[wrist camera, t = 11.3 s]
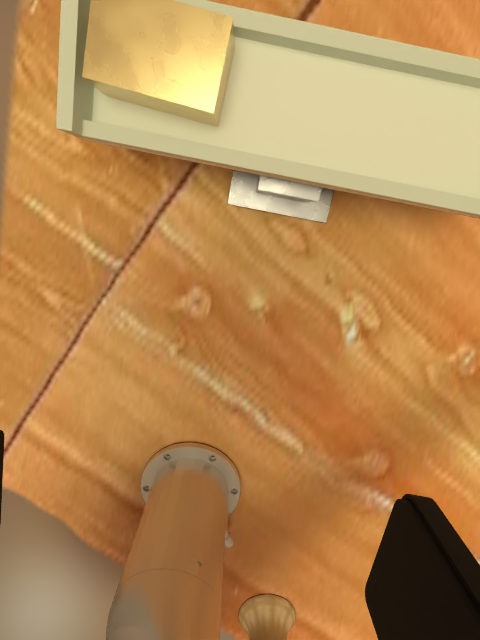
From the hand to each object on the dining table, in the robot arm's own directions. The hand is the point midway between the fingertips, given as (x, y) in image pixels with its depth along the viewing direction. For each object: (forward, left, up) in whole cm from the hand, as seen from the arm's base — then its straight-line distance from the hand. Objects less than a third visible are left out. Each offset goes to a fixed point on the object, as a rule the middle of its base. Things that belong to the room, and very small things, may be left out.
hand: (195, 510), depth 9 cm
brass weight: (+16, -4, -22) cm, 27 cm away
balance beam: (+9, -11, -28) cm, 31 cm away
